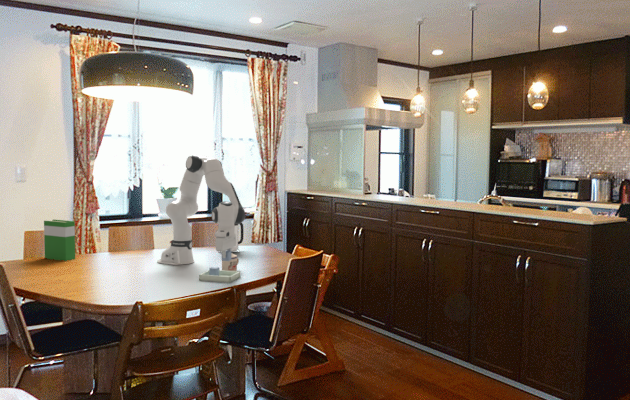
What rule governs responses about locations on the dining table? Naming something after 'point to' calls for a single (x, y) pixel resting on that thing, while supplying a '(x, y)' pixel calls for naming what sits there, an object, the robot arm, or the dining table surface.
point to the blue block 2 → (227, 256)
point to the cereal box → (59, 239)
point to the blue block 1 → (214, 271)
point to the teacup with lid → (230, 263)
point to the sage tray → (220, 276)
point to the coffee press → (237, 238)
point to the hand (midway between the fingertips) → (226, 257)
